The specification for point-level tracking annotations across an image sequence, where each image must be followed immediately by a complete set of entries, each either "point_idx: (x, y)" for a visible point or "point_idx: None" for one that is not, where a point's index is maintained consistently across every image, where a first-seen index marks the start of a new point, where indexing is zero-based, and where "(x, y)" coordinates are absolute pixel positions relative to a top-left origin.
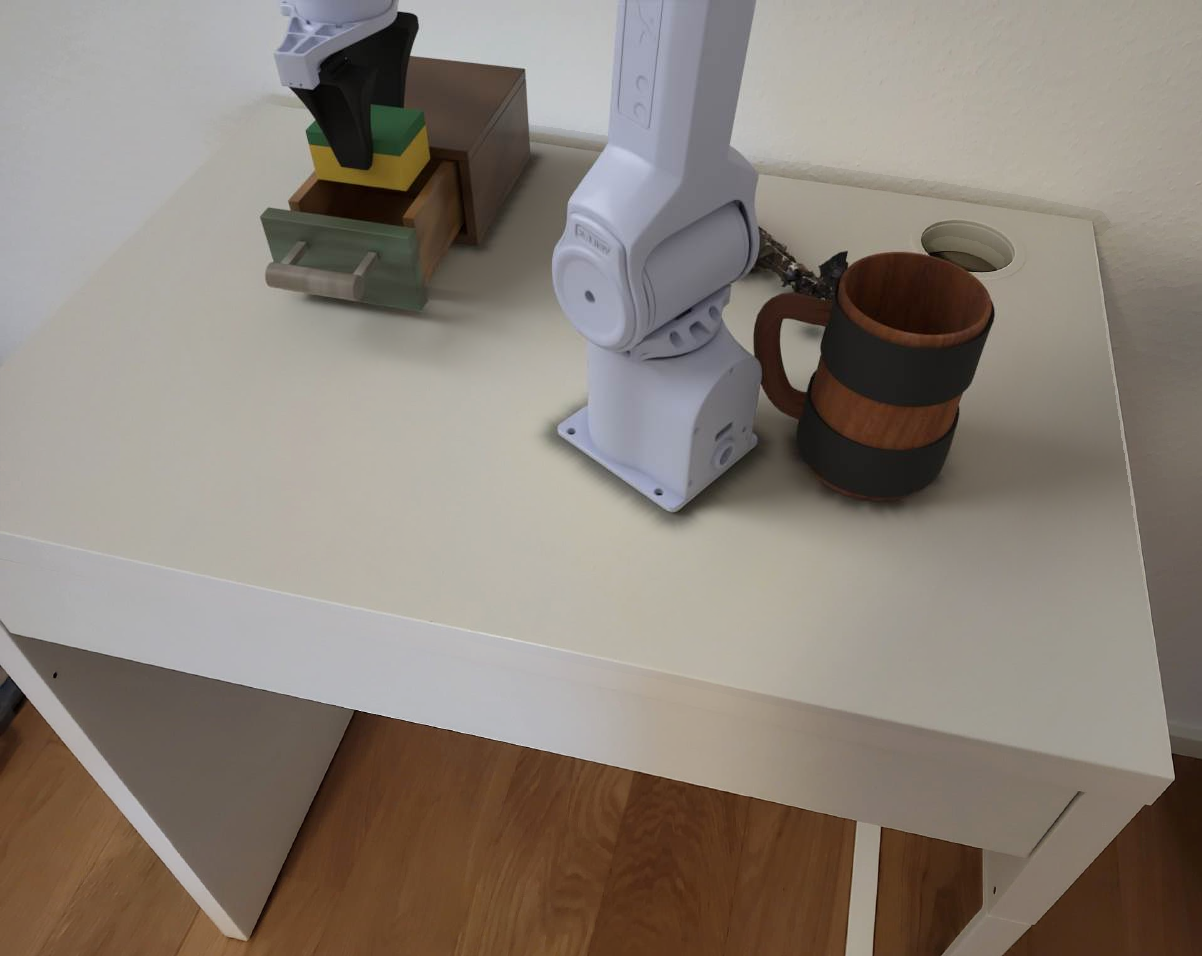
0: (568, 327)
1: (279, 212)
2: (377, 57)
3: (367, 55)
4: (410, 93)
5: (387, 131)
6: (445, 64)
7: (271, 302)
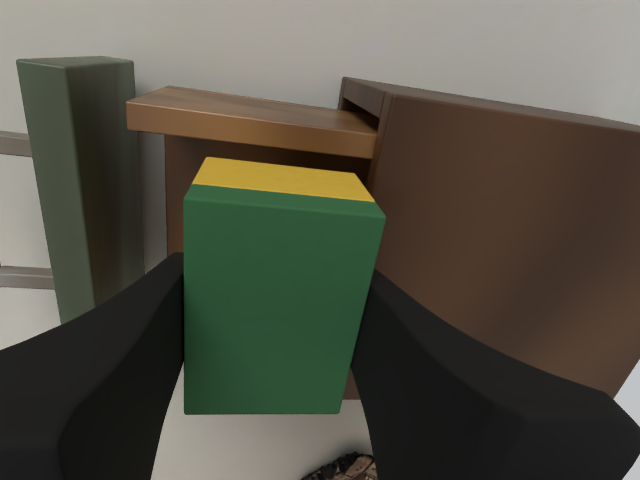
0: (169, 405)
1: (53, 106)
2: (401, 448)
3: (408, 429)
4: (558, 256)
5: (227, 385)
6: None
7: (97, 30)
